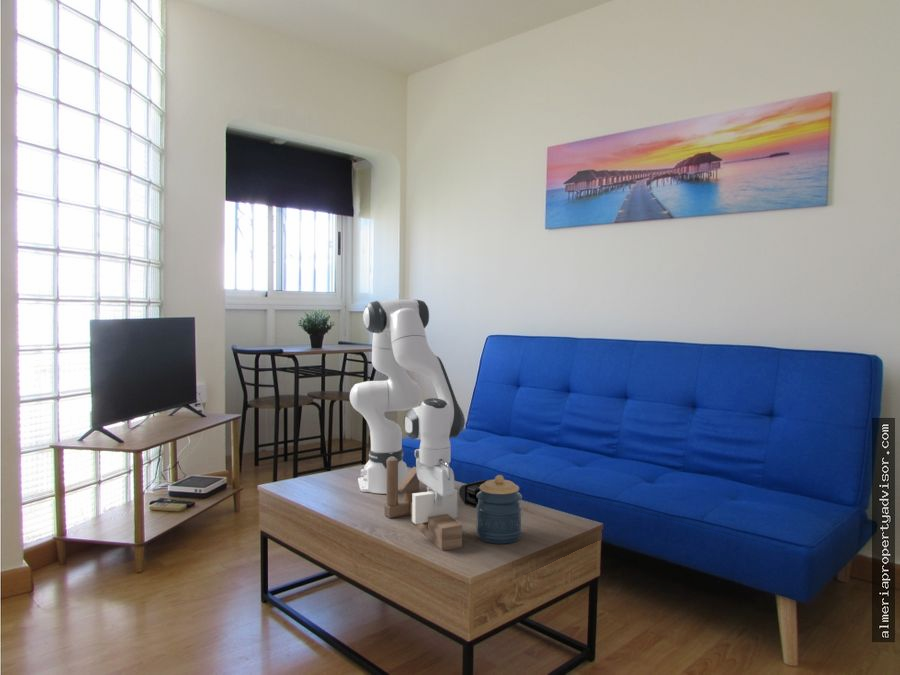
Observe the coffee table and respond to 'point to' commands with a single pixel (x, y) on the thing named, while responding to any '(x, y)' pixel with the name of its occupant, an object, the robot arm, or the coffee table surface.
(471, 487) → the end cap
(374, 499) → the coffee table surface
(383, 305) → the robot arm
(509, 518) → the canister
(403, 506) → the wooden block
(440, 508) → the white rectangular slab
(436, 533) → the walnut crossbar
